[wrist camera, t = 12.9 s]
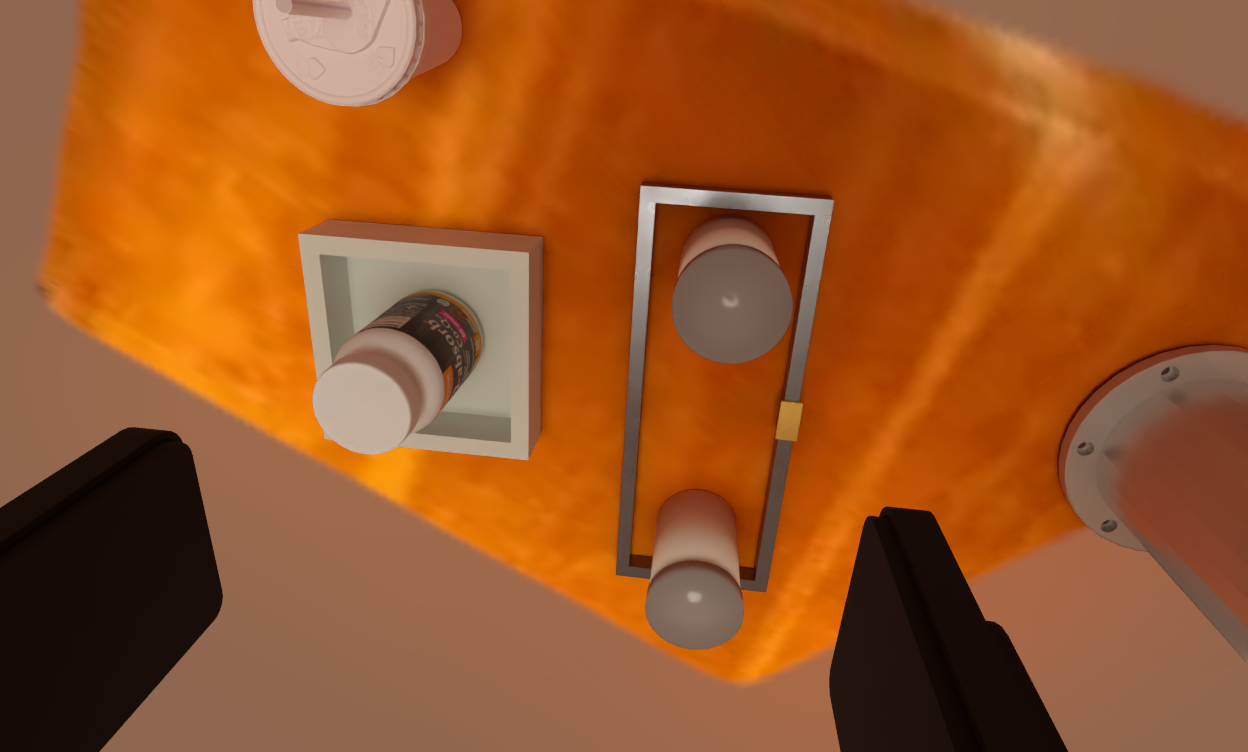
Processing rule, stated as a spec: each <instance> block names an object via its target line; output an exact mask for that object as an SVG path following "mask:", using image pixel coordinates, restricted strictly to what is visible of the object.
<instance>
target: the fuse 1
mask: <svg viewBox="0 0 1248 752" xmlns="http://www.w3.org/2000/svg"><path fill="white" fill-rule="evenodd" d="M792 308H793V303H792V295H791V290H790V287H789V285H788V282H787V279H786V276H785V275H784V273H783V271H782V269H781V268H780V265H779V263H778V260H777V257H776V254H775V251H774V248H773V245H772V242H771V240H770V238H769V236H768V234H767V233H766V232H765V230H764V229H763V228H762V227H761V226H760V225H759V224H757V223H756V222H754V221H753V220H751V219H749V218H747V217H744V216H741V215H735V214H723V215H717V216H714V217H711V218H708V219H706V220H705V221H703V222H701V223H700V224H699V225H697V226H696V227H695V228H694V229H693V230H692V231H691V233H690V234H689V235H688V237H687V239H686V240H685V242H684V245H683V248H682V251H681V257H680V265H679V272H678V279H677V281H676V284H675V288H674V293H673V299H672V317H673V321H674V325H675V327H676V330H677V332H678V334H679V336H680V337H681V339H682V340H683V341H684V343H685V344H686V345H687V346H688V347H689V348H690V349H691V350H693V351H694V352H695V353H697V354H698V355H700V356H702V357H704V358H706V359H708V360H711V361H715V362H719V363H730V364H734V363H742V362H747V361H750V360H753V359H756V358H758V357H760V356H762V355H764V354H765V353H767V352H768V351H770V350H771V349H772V348H773V347H774V346H775V345H776V344H777V343H778V342H779V341H780V340H781V338H782V337H783V336H784V334H785V332H786V330H787V328H788V326H789V323H790V320H791V316H792Z"/></svg>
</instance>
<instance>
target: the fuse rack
mask: <svg viewBox="0 0 1248 752" xmlns="http://www.w3.org/2000/svg"><path fill="white" fill-rule="evenodd" d="M657 203H664V204H677V205H690V206H703V207H716V208H729V209H742V210H755V211H768V212H781V213H794V214H807V215H811V219H810V225H809V231H808V238H807V244H806V250H805V256H804V262H803V268H802V275H801V281H800V287H799V293H798V299H797V305H796V312H795V318H794V324H793V330H792V336H791V343H790V349H789V355H788V361H787V367H786V373H785V380H784V386H783V392H782V398H781V403H780V409H779V416H778V422H777V428H776V434H775V441H774V448H773V454H772V460H771V466H770V472H769V478H768V485H767V491H766V497H765V503H764V509H763V516H762V522H761V528H760V534H759V540H758V546H757V553H756V559H755V565H754V569H753V568H744V567H739V575H740V588H741V590H750V591H759V592H766V590H767V584H768V578H769V573H770V567H771V561H772V555H773V550H774V544H775V538H776V532H777V526H778V521H779V515H780V509H781V503H782V498H783V492H784V486H785V480H786V475H787V469H788V463H789V457H790V452H791V446H792V441H797V436H798V430H799V425H800V419H801V413H802V408H803V402H799V400H800V394H801V388H802V382H803V377H804V371H805V365H806V359H807V353H808V348H809V342H810V336H811V330H812V325H813V319H814V313H815V307H816V302H817V296H818V290H819V284H820V279H821V273H822V267H823V261H824V255H825V250H826V244H827V238H828V232H829V227H830V221H831V215H832V209H833V204H834V199H833V198H832V197H831V196H826V195H812V194H799V193H785V192H772V191H759V190H745V189H732V188H719V187H705V186H692V185H678V184H665V183H652V182H642V184H641V189H640V205H639V221H638V236H637V252H636V267H635V283H634V299H633V314H632V330H631V345H630V361H629V377H628V392H627V408H626V423H625V439H624V454H623V470H622V486H621V501H620V517H619V532H618V548H617V564H616V575H620V576H629V577H637V578H646V579H650V578H651V569H652V560H653V557H647V556H638V555H631V543H632V530H633V516H634V503H635V489H636V476H637V462H638V448H639V435H640V421H641V408H642V394H643V381H644V367H645V354H646V340H647V326H648V313H649V299H650V286H651V272H652V259H653V245H654V231H655V218H656V204H657Z"/></svg>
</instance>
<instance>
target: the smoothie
mask: <svg viewBox="0 0 1248 752" xmlns="http://www.w3.org/2000/svg"><path fill="white" fill-rule="evenodd" d="M253 10H254V16H255V21H256V25H257V29H258V32H259V35H260V38H261V40H262V42H263V45H264V47H265V49H266V51H267V53H268V54H269V56H270V58H271V59H272V61H273V62H274V64H275V65H276V67H277V68H278V69H279V70H280V72H281V73H282V74H283V75H284V76H285V77H286V78H287V79H288V80H289V81H290V82H291V83H292V84H293V85H295V86H296V87H297V88H298V89H300V90H301V91H303V92H304V93H306V94H307V95H309V96H311V97H313V98H315V99H317V100H320V101H322V102H326V103H329V104H333V105H340V106H355V107H358V106H365V105H372V104H377V103H379V102H381V101H383V100H385V99H387V98H390V97H392V96H394V95H395V94H396V93H397V92H398V91H399V90H400V89H401V88H402V87H403V86H404V85H405V84H406V83H408V82H409V80H410V79H411V78H414V77H416V76H418V75H420V74H422V73H424V72H426V71H428V70H431V69H433V68H435V67H437V66H439V65H441V64H443V63H445V62H447V61H448V60H449V59H450V58H451V57H452V56H453V55H454V54H455V53H456V51H457V49H458V47H459V45H460V42H461V37H462V22H461V17H460V14H459V11H458V9H457V7H456V5H455V3H454V2H453V0H253Z"/></svg>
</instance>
